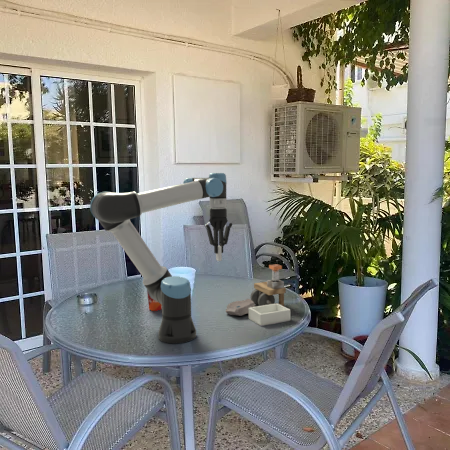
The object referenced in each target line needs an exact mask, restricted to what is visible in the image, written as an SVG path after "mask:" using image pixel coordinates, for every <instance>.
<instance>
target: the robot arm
mask: <svg viewBox="0 0 450 450" xmlns="http://www.w3.org/2000/svg"><path fill="white" fill-rule="evenodd" d="M227 184H228V181H227V175H226V173H224V172H210V173H209V175H208V177H187V178H185V179H183V182H182V183H180V184H175V185H171V186H170V185H169V186H166V187H161V188H156V189H151V190H148V191H143V192H138V193H137V192H136V191H130V192H111V191H107V190H106V191H102V192H99V193H97V194H96V195H94V196H93V198H91V201H90V205H89V209H90V212H91V215H92V216H93V217H94V218H95V219H96V220H97V221H98V222H99V223H100V225H101V227H103V229H104V230H105V232H109V233H112V235H113V237H114V238H115V239H116V240H117V242H118V244H119V245H120V247H122V249H123V250H124V252H125V253H126V255H127V256H128V257H129V259H130V261H131V262H132V263H133V265H134V266H135V267H136V269H137V270H138V272H139V273H140V275H141V276H142V278H143V280H142V284H143V285H144V287H145V288H146V292H147V291H148V294H149V295H150V297H151V298H152V299H154V300H155V301H157V302H159V303H160V304H161V305H162V309H161V321H160V326H159V329H158V336H157V337H158V340H160V342H162V343H167V344H184V343H187V342H190V341H192V340H194V339H196V338H197V328H196V326H195V323H194V321H193V317H192V286H191V282H190V280H189V279H188V278H186V277H183V276H177V275H176V276H175V275H174V276H173V275H172V274H171V272H170V271H169V269H168V268H167V266H162V265H161V264H160V263H159V261H158V260H157V258H156V257H155V256H154V253H153V252H152V251H151V249H150V248H149V246H148V245H147V244H146V241H145V240H144V239H143V237H142V236H141V234H140V233H139V232H138V230H137V229H136V227H135V225H134V224H133V222H131V220H132V219H135V218H139V217H141V216H142V214H145V213H148V212H152V211H156V210H160V209H161V210H162V209H164V208H169V207H172V206H176V205H177V206H178V205H182V204H185V203H189V202H193V201H198V200H202V199H207V198H209V208H210V209H209V220H208V222H207V223H204V225H203V226H204V227H205V229H206V234H207V237H208V242H209V245H211V246H213V249H214V251H213V252H214V254H215V260H216V261H217V262H222V261H223V260H222V254H224V246H225V245H228V241H229V236H230V232H231V228H232V226H233V223H232V222H230V221H228V218H227V217H228V216H227V213H228V212H227V211H228V210H227ZM211 227H212V228H211ZM212 230H213V232H212ZM148 294H147V295H148Z"/></svg>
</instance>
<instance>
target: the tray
mask: <svg viewBox="0 0 450 450" xmlns="http://www.w3.org/2000/svg"><path fill="white" fill-rule="evenodd" d="M248 311H249V314H248V319H249V320H250V321H251V322H253V323H255V324H256V325H258V326H259V327H263V326H268V325H274V324H279V323H285V322H286V323H287V322H290V321H291V309H290V308H288V307H286V306H285V305H284V306H282V305H280V304H279V302H277V303H276V302H275V303H274V304H269V305H263V306H257V305H256V307H251V308H248Z"/></svg>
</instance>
